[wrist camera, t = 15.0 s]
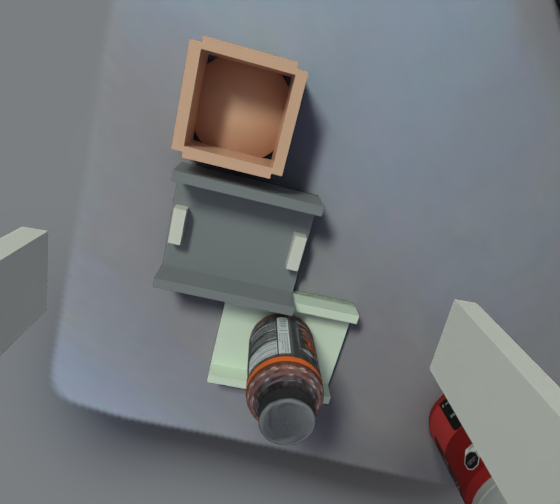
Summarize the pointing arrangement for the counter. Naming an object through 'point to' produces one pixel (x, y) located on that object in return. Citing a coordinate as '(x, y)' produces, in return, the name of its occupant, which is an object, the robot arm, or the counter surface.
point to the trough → (308, 307)
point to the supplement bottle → (283, 379)
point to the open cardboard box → (237, 107)
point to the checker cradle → (236, 239)
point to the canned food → (462, 457)
